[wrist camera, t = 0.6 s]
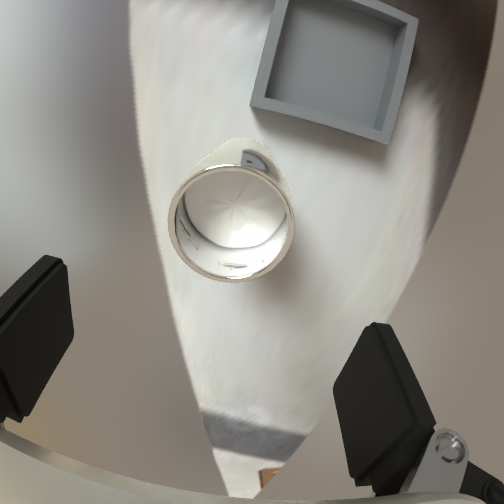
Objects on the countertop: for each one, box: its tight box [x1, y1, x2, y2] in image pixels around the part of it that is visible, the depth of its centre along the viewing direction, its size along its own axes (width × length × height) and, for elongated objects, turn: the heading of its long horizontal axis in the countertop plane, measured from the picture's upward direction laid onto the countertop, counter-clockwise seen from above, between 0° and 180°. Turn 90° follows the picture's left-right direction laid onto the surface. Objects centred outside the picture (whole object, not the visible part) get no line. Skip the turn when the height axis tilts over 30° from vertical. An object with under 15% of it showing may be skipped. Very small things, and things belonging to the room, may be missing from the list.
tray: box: [250, 0, 419, 146], centre depth 24 cm, size 13×12×3 cm
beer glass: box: [168, 137, 295, 282], centre depth 23 cm, size 7×7×15 cm
